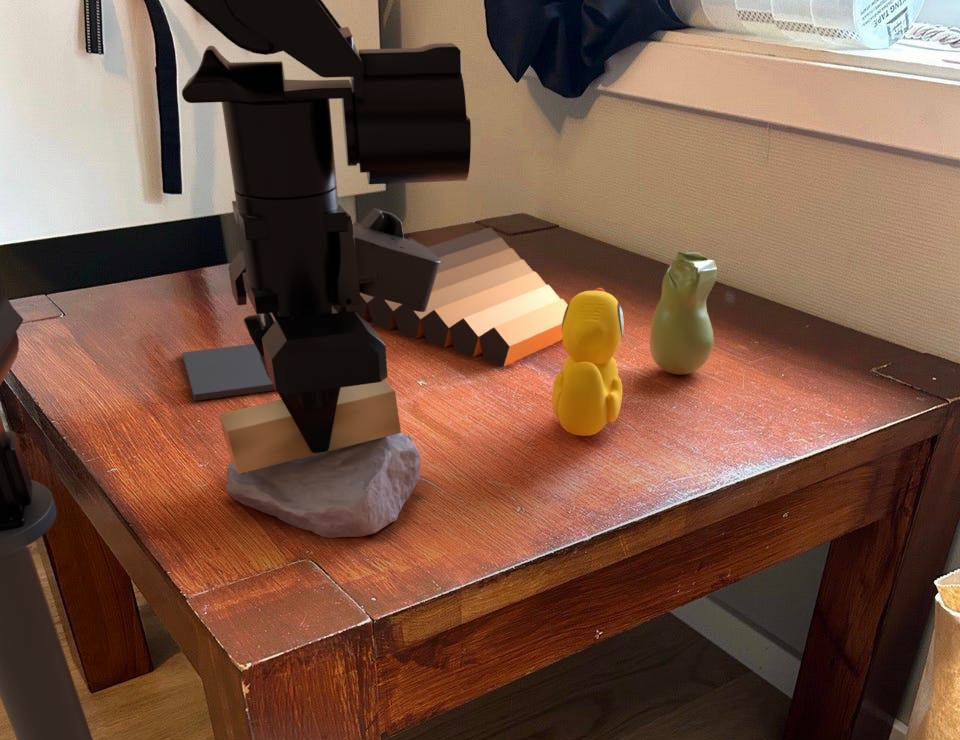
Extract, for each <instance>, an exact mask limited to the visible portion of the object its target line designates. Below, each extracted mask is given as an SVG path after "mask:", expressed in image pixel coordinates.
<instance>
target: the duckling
mask: <svg viewBox="0 0 960 740" xmlns="http://www.w3.org/2000/svg"><path fill="white" fill-rule="evenodd" d="M623 334H624V314H623V309H622V307H621V304H620V303H619V301H618V300H617V298H615V296H614V295H613V294H611V293H609V292H607V291H605V289H604V288H602V287H597V288H595V289H594V290H585V291H581V292H580V293H577V294H576V295H574V297H572V298H571V299H570V300H569V302H568V303H567V307H566V310H565V312H564V316H563V321H562V340H561V342H562V345H563V347H564V349H565V351H566V353H567V354H568V357H567V358H566V361H565V362H564V365H563V367H562V371H560V372H558V373H557V374H556V376H555V378H554V381H553V384H552V385H553V386H552V410H553V414H554V416H555V418H557V419H558V420H559V423H560V425H561V427H562V429H564V430H565V431H566V432H567V433H569V434H571V435H576V436H583V437H584V436H585V437H586V436H593V435H596V434H597V433H599V432H600V431H602V429H604V427H605V426H606V425H607V423H614V422H615V421H616V420H617V419H618V417H619V415H620V411H621V406H622V401H623V400H622V399H623V384H622V379H621V378H620V377H619V369H618V365H617V362H616V359H615V357H614V356H615V355H616V353H617V352H618V349H620V348H619V347H620V345H621V342H622V340H623V339H622V338H623Z"/></svg>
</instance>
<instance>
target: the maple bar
mask: <svg viewBox="0 0 960 740" xmlns="http://www.w3.org/2000/svg"><path fill="white" fill-rule="evenodd" d="M385 379H386V378H385ZM385 379H384V380H383V381H381V382H378V383H370V384H363V385H356V386H349V387H341V388H340V393H339V397H338V402H337V407H336V413H335V418H334V424H333V429H332V435H331V440H330V446H329V449H328V451H332V450H336V449H340V448H344V447H348V446H351V445H355V444H359V443H363V442H367V441H371V440H375V439H379V438H383V437H387V436H391V435H395V434H399V433H402V430H401V422H400V413H399V407H398V401H397V394H396V390H395V389H394V388H393V387H392V386H391V384H389V383H388V381H386V380H385ZM218 417H219V422H220V425H221V429H222V433H223V437H224V441H225V445H226V449H227V452H228V456H229V458H230V461H232V462H233V464H234V467H235V469H236V471H237V473H238V474H241V473H245V472H249V471H253V470H257V469H261V468H265V467H269V466H273V465H277V464H280V463H284V462H288V461H292V460H296V459H300V458H304V457H308V456H312V455H316V454H320V453H312V452H311V450H310V448H309V447H308V445H307V443H306V441H305V440H304V438H303V436H302V434H301V432H300V431H299V429H298V427H297V425H296V423H295V422H294V420H293V418H292V416H291V415H290V413H289V411H288V410H287V408H286V406H285V404H284V403H283V401H282V399H281V398H280V399H278V400H277V399H276V400H273V401H268V402H264V403H260V404H256V405H252V406H248V407H247V406H246V407H243V408H239V409H235V410H230V411H226V412H222V413H219V414H218ZM328 451H326V452H328ZM321 453H324V452H321Z"/></svg>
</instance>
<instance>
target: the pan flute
mask: <svg viewBox="0 0 960 740" xmlns="http://www.w3.org/2000/svg"><path fill="white" fill-rule="evenodd" d="M426 248H428V249H429V250H430V251H431V252H432V253H433V254H434V255H435V256H436V257H437V258H438V259H439V260H440V261H441V262H440V265H439V269H438V272H437V275H436V279H435V282H434V285H433V289H432V292H431V295H430V299H429V302H428V305H427V309H426V311H425V312H418V311H413V310H409V309H408V308H407V306H406V305H403V304H399V303H395V302H391V301H387V300H384V299H380V298H376V297H372V296H368V295H365V294H363V293H360V302H361V305H357V306H348V307H340V306H339V305H334V306H332V307H333V308H334V309H335V310H336V311H337V313H341V312H350V311H354V312H355V313H357V314H358V315H359V316H360V317H362V318H363V319H364V320H365V321H366V322H368V321H371V322H372V325H373V326H374V327H377V328H381V329H384V330H387V331H393V330H394V329H398V334H400V335H403V336H407V337H409V338H412V339H416V340H417V339H419V338H422V337H424V339H425V341H426V343H428V344H431V345H434V346H438V347H441V348H447V347H449V346H451V345H452V346H453V350H454V352H456V353H460V354H463V355H466V356H469V357H473V358H474V357H476V356H478V355H482V358H483V360H484V361H485V362H488V363H491V364H494V365H498V366H501V367H506V366H509V365H510V364H512V363H515V362H517V361H519V360H521V359H523V358H525V357H528V356H530V355H532V354H534V353H536V352H538V351H541V350H543V349H545V348H547V347H550V346H551V345H554V344H556V343H558V342H561V341H562V321H563V316H564V312H565V310H566V307H567V305H568V303H567V302H566V300H564V298H561V297H560V296H559V295H558V294H557V293H556V292H555V291H554V289H553V288H552V287H551V286H550V284H546V282H545V281H544V280H543V279H542V277H541V276H540V275H539V274H538V273H537V272H536V271H534V270H533V269H532V268H531V267H530V265H528V263H527V262H526V261H525V259H522V258H521V257H520V255H518V253H517V252H516V251H515V249H513V247H511V248H510V246H509V245H508V243H506V241H505V240H504V239H503V237H501V236H499V235H498V234H497V232H496V231H495V230H494V229H493V228H492V227H491V226H490V227H488V228H484V229H481V230H477V231H474V232H471V233H468V234H464V235H462V236H459V237H456V238H453V239H449V240H446V241H444V242H440V243H436V244H433V245H430V246H426Z"/></svg>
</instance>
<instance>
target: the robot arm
mask: <svg viewBox="0 0 960 740" xmlns="http://www.w3.org/2000/svg"><path fill="white" fill-rule="evenodd" d="M183 1H184V2H185V3H187V4H188V5H189V6H190V7H191V8H192V9H193V10H194V11H195V12H197V13H198V14H199V16H201V17H202V18H204V19H205V20H206V21H207V22H208V23H209V25H211V26H213V27H214V28H215V29H216V30H217V31H218V32H219V33H220V34H221V35H222V36H223V37H225V38H226V39H227V40H229V42H230V43H233V44H234V45H235V46H237V48H240V49H243V50H245V51H248V52H249V53H252V54H256V55H264V56H268V55H274V54H277V53H280V52H284V53H285V54H286V55H288V56H290V57H291V58H292V59H294V60H296V61H297V62H299V63H300V64H301V65H303V66H304V67H306V68H307V69H309V70H310V71H312V72H313V73H315V74H316V75H318V77H321V78H325V79H315V80H313V79H312V80H311V79H308V80H307V79H286V76H285V71H284V70H285V68H284V63H283V61H281V60H279V61H248V62H246V61H242V62H241V61H240V62H235V61H234V62H231V61H229V60H228V59H226V58H225V57H224V55H222V54H221V53H220V52H219V50H218V48H216V47H215V46H214V45H208V46H207V47H206V49H205V50H204V52H203V53H202V59H201V61H200V65H199V66H198V68H197V70H196V71H195V73H194V74H193V75H192V76H191V77H190V78H189V79H188V80H187V81H186V83H185V85H184V86H183V88H182V90H181V96H182V98H183V100H184V101H185V102H186V103H188V104H204V103H205V104H206V103H208V104H209V103H210V104H211V103H221V107H222V113H223V114H222V115H223V120H224V121H223V122H224V127H225V134H226V142H227V148H228V155H229V161H230V162H229V163H230V169H231V176H232V184H233V189H234V198H235V199H234V200H232V201H231V205H232V211H233V212H232V213H233V218H234V221H235V223H236V224H237V227H238V228H239V232H240V240H241V248H242V250H239V251H238V253H237V254H236V255H235V256H234V258H233V260H231V262H230V263H229V265H227V266H228V267H227V268H228V273H229V280H230V286H231V293H232V296H233V298H234V301H235V302H236V305H237V306H246V305H247V304H248V299H249V301H250V303H251V305H252V308H253V310H254V312H255V313H256V314H255V315H249V316H246V317H244V318H243V323H244V325H245V327H246V330H247V332H248V335H249V336H250V339H251V340H252V342H253V344H255V346H256V347H257V349H258V351H259V353H260V355H261V356H260V359H261V362H262V364H263V366H264V368H265V371H266V373H267V375H268V377H269V378H270V380H271V382H272V384H273V386H274V388H275V390H274V391H275V393H277V394H278V396H279V397H280V400H281V399H282V401H283V403H284V404H285V406H286V408H287V410H288V411H289V413H290V415H291V416H292V418H293V420H294V422H295V423H296V425H297V427H298V429H299V431H300V432H301V434H302V436H303V438H304V440H305V441H306V443H307V445H308V447H309V448H310V450H311V452H312V453H321V452H326V451H328V449H329V446H330V440H331V435H332V429H333V424H334V418H335V413H336V407H337V402H338V397H339V393H340V388H341V387H349V386H356V385H363V384H370V383H378V382H381V381H383V380H384V379H387V378H388V364H387V363H388V362H387V361H388V360H387V349H386V348H387V347H386V346H387V345H386V343H385V342H384V341H383V340H382V338H381V337H380V336H379V334H378V333H377V332H376V330H375V329H374V328H373V326H372V325H371V324H370V323H369V322H368V321H365V320H364V319H363V318H362V317H360V316H359V315H358V314H357V313H355V312H354V311H350V312H341V313H337V311H336V310H335V309H334V308H333V307H332V306H334V305H339V306H340V307H348V306H357V305H361V302H360V293H363V294H365V295H368V296H372V297H376V298H380V299H384V300H387V301H391V302H395V303H399V304H403V305H406V306H407V308H408V309H409V310H413V311H418V312H425V311H426V309H427V305H428V302H429V299H430V295H431V292H432V289H433V285H434V282H435V279H436V275H437V272H438V269H439V265H440V262H441V261H440V260H439V259H438V258H437V257H436V256H435V255H434V254H433V253H432V252H431V251H430V250H429V249H428V248H427V246H426V245H424V244H421V243H419V242H417V241H416V240H415V239H414V238H412V237H407V238H405V235H404V228H403V224H402V220H401V219H400V218H399V217H398V216H397V215H395V214H394V213H393V212H389V211H385V210H382V209H380V208H376V207H373V208H372V209H371V210H370V211H369V213H368V214H367V215H366V216H365V217H364V218H363V219H362V220H361V222H360V223H359V222H356V221H354V222H353V219H352V216H351V215H350V213H348V211H346V210H345V209H344V208H343V206H342V205H341V204H339V198H338V196H339V195H338V185H337V184H338V183H337V173H336V162H335V151H334V136H333V126H332V114H331V102H330V100H338V99H341V111H342V113H341V114H342V123H343V137H344V138H343V139H344V148H345V157H346V164H347V167H355V166H356V167H357V166H359V173H360V174H361V173H362V174H363V173H366V179H367V184H368V185H388V184H410V183H411V184H415V183H417V184H418V183H436V182H437V183H438V182H439V183H440V182H464V181H465V182H466V181H467V180H468V177H469V174H470V173H469V172H470V166H471V151H472V149H471V148H472V129H471V128H472V126H471V123H472V122H471V119H470V118H469V116H468V115H467V103H466V92H465V83H464V79H463V73H462V50H460V48H459V47H458V46H457V45H456V44H454V42H439V43H430V44H427V45H423V46H420V47H403V48H365V49H363V48H361V49H357V47H356V45H355V44H354V38H353V34H352V32H351V30H350V28H349V27H348V26H345V27H342V26H341V25H340V23H339V22H338V20H337V19H336V18H335V16H334V15H333V14H332V12H331V11H330V10H329V8H328V7H327V6H326V4H325V3H324V1H323V0H183ZM326 78H349V79H326ZM23 322H24V318H23V317H22V316H21V315H20V313H18V312H17V310H16V309H15V308H14V307H13V305H12V303H11V302H10V300H9V298H8V297H7V295H6V291H5V288H4V285H3V281H2V277H1V275H0V386H1V385H2V384H3V382H4V380H5V379H6V378H7V376H8V374H9V372H10V370H11V369H12V367H13V365H14V363H15V361H16V359H17V357H18V353H19V349H20V347H19V346H20V342H19V341H20V340H19V336H18V332H17V331H18V330H19V328H20V327H21V325H22V323H23ZM31 480H32V479H31V476H30V473H29V470H28V467H27V464H26V461H25V457H24V454H23V451H22V448H21V444H20V441H19V437H18V435H17V432H15V431H13V430H7V431H6V428H5V424H4V421H3V418H2V416H1V414H0V531H3V530H9V529H15V528H20V527H22V526H24V525H25V524H26V510H27V506H28V505H30V503H31V502H32V482H31Z"/></svg>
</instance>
